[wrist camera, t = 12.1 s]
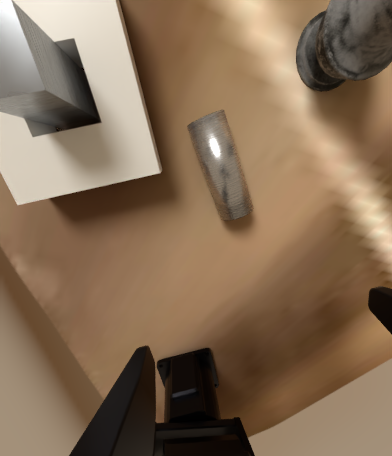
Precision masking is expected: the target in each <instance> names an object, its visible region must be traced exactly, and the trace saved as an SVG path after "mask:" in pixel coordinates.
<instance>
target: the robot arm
mask: <svg viewBox="0 0 392 456" xmlns="http://www.w3.org/2000/svg"><path fill="white" fill-rule="evenodd" d="M368 306H369V309H370V311H371V312H372V313H373V314H374V315H375V316H376V317H377V319H378V320H379V321H380V322H381V323H382V324H383V325H384V326H385V327H386V329H387V330H388V331H389V332H390V333H391V334H392V289H390V288H387V287H383V286H379V287H375V288H372V289H370V291H369V300H368ZM157 369H158V371H159V374H160V377H161V379H162V382H163V384H164V387H165V409H164V423H156V422H155V419H156V387H155V362H154V358H153V356H152V353H151V351H150V348H149V346H143V347H139V348H137V349H136V351H135V352H134V354H133V355H132V357H131V359H130V360H129V362H128V363H127V365H126V366H125V368H124V370H123V371H122V373H121V374H120V376H119V378H118V379H117V381H116V382H115V384H114V385H113V387H112V389H111V390H110V392H109V393H108V395H107V397H106V398H105V400H104V401H103V403H102V405H101V406H100V408H99V409H98V411H97V413H96V414H95V416H94V418H93V419H92V421H91V422H90V423H89V425H88V427H87V428H86V430H85V431H84V433H83V435H82V436H81V438H80V439H79V441H78V442H77V444H76V446H75V447H74V449H73V450H72V452H71V454H70V455H69V456H255V455H254V453H253V450H252V448H251V445H250V443H249V440H248V438H247V435H246V433H245V430H244V428H243V425H242V422H241V420H240V418H239V417H234V419H221V417H220V411H219V406H218V401H217V395H216V390H215V388H217V387H218V386H219V383H218V379H217V375H216V371H215V367H214V363H213V359H212V355H211V351H210V349H209V348H205V349H201V350H197V351H193V352H189V353H185V354H181V355H177V356H173V357H170V358H166V359H162V360H159V361H158V362H157Z"/></svg>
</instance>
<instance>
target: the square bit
mask: <svg viewBox="0 0 392 456" xmlns="http://www.w3.org/2000/svg"><path fill="white" fill-rule="evenodd" d="M0 112H3V113H7V114H10V115H14V116H17V117H21V118H25V119H28V120H32V121H35V122H39V123H43V124H46V125H50V126H53V127H57V128H61V129H64V130H69V129H74V128H79V127H83V126H88V125H93V124H98V123H102V122H101V119H100V116H99V113H98V110H97V107H96V104H95V101H94V98H93V94H92V91H91V88H90V85H89V82H88V79H87V76H86V73H85V72H84V71H83V70H82V69H81V68H80V67H79V66H78V65H77V64H76V63H75V62H74V61H73V60H72V59H71V58H70V57H69V56H68V55H67V54H66V53H65V52H64V51H63V50H62V49H61V48H60V47H59V46H58V45H57V44H56V43H55V42H54V41H53V40H52V39H51V38H50V37H49V36H48V35H47V34H46V33H45V32H44V31H43V30H42V29H41V28H40V27H39V26H38V25H37V24H36V23H35V22H34V21H33V20H32V19H31V18H30V17H29V16H28V15H27V14H26V13H25V12H24V11H23V10H22V9H21V8H20V7H19V6H18V5H17V4H16V3H15V2H14V1H13V0H0Z"/></svg>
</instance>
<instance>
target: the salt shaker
mask: <svg viewBox="0 0 392 456" xmlns="http://www.w3.org/2000/svg"><path fill="white" fill-rule="evenodd" d="M391 62H392V0H331V1H330V3H329V5H328V7H327V10H326V11H324V12H321V13H319V14H318V15H317V16H315V17H314V18H313V19H312V20H311V21H310V22H309V23H308V25H307V26H306V27H305V29H304V30H303V32H302V34H301V37H300V39H299V42H298V46H297V50H296V63H297V69H298V72H299V75H300V77H301V79H302V80H303V81H304V83H305V84H306V85H307V86H308V87H310V88H312V89H313V90H317V91H329V90H331V89H334V88H336V87H338V86H339V85H341V84H342V83H343V82H344V81H345V80H347V79H350V80H354V81H356V80H365V79H368V78H370V77H372V76H375V75H377V74H378V73H380V72H381V71H382V70H384V69H385V68H386V67H387V66H388V65H389V64H390V63H391Z"/></svg>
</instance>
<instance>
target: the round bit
mask: <svg viewBox="0 0 392 456" xmlns="http://www.w3.org/2000/svg"><path fill="white" fill-rule="evenodd" d="M187 128H188V130H189V133H190V136H191V139H192V141H193V144H194V147H195V150H196V152H197V155H198V158H199V160H200V163H201V166H202V169H203V171H204V174H205V177H206V180H207V182H208V185H209V188H210V190H211V193H212V196H213V199H214V201H215V204H216V207H217V209H218V212H219V215H220V218H221V219H222V220H234V219H238V218H240V217H243V216H245V215H247V214H249V213H250V212H251V211H252V210H253V204H252V201H251V198H250V194H249V191H248V188H247V184H246V181H245V178H244V175H243V171H242V168H241V165H240V161H239V158H238V155H237V151H236V148H235V145H234V141H233V138H232V135H231V131H230V128H229V125H228V122H227V118H226V115H225V112H224V110H220V111H216V112H214V113H211V114H209V115H206V116H204V117H202V118H200V119H198V120H196V121H194V122H192V123H191V124H189V125H188V126H187Z"/></svg>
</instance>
